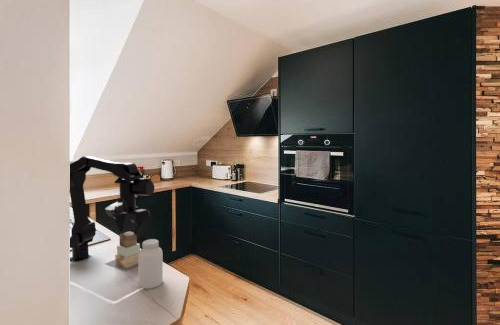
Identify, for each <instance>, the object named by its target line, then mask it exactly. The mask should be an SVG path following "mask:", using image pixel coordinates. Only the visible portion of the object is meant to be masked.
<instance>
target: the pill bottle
mask: <svg viewBox="0 0 500 325" xmlns="http://www.w3.org/2000/svg"><path fill="white" fill-rule="evenodd" d="M159 243H160V242H159V240H158V239H155V238H151V239H150V238H149V239H146V240H144V241H143V242H142V244H141V246H142V248H140V252H139V254H138V266H137V267H138V268H137V269H138V270H137V271H138V276H137V277H138V278H137V279H138V281H137V282H138V285H139V287H140V288H141V289H146V290H148V289H154V288H157V287H159V286H160V285H162V283H163V278H164V277H163V276H164V275H163V272H164V271H163V264H164V263H163V261H164V260H163V256H164V255H163V250H162V248H161V247H160V244H159Z"/></svg>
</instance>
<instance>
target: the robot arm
mask: <svg viewBox="0 0 500 325" xmlns="http://www.w3.org/2000/svg"><path fill="white" fill-rule="evenodd" d="M91 168H93V169H96V170H100V171H105V172H109V173H112V174H113V176H115V177H118V178H117V179H116V180H115V181H114V184H119V196H118V197H117V198H116V202H114V203H113V202H112V204H110V205H108V206H107V207H105V208H104V211H105V213H106V215H107V217H111V218H113V219H114V220H115V223H116V226H117V228H118V231H119V232H123V231H124V227H125V224H126V223H125V222H126V217H127V215H129V218H130V219H129V221H130V222H132V227H133V232H134V235H139V232H140V230H141V228H142V226H143V224H144V222H145V221H146V220H147V219H148V218H149V217H150V211H149V210H148V209H145V208H144V209H143V208H140V209H139V206H137V205H136V201H137V200H138V199H139V196H146V197H147V196H149V197H151V196H152V195H153V194H154V192H155V185H154V183H153V181H152V178H151V177H148V178H145V177H143V175H142V173H141V172H140V170H139V169H138V167H137V165H136V163H134V162H116V161H112V160H106V159H103V158H99V157H95V156H92V155H86V156H85V155H84V156H82V157H80V158H79V159H77V160H76V161H73V162H71V163H70V190H69V196H70V201H71V209H72V215H73V219H74V220H73V221H74V222H73V225H72V227H71V236H70V237H69V238H70V248H71V253H72V254H71V257H69V258H70V260H69V261H72V262H77V263H78V262H81V261H84V260H87V259H90V258H92V257H93V255H90V254H89V243H91V242H93V240H94V237H95V236H96V232H97V229H96V222H95V221H93V222H92V221H91V220H90V219H89V215H88V209H87V204H86V203H87V202H86V196H85V190H84V184H85V181H86V179H87V173H88V172H89V171H90V170H91Z"/></svg>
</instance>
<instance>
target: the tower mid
mask: <svg viewBox="0 0 500 325" xmlns="http://www.w3.org/2000/svg"><path fill="white" fill-rule="evenodd" d="M140 250H141V244H140V243H138V242H137V244H135V245H133V246H130V247H123V246H120V244H117V245H116V251H117V252H116V254H118V255H121V256H124V257H129V256H132V255H134V254H137V253H139V252H140Z"/></svg>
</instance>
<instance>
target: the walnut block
mask: <svg viewBox="0 0 500 325" xmlns="http://www.w3.org/2000/svg"><path fill="white" fill-rule="evenodd" d="M118 235H119V245H120V246H123V247H130V246H133V245H135V244H137V243H138V241H137V240H138V238H137V237H138V236H137V235H138V234H137V235H134V231H126V232H122V233H119V234H118Z"/></svg>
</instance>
